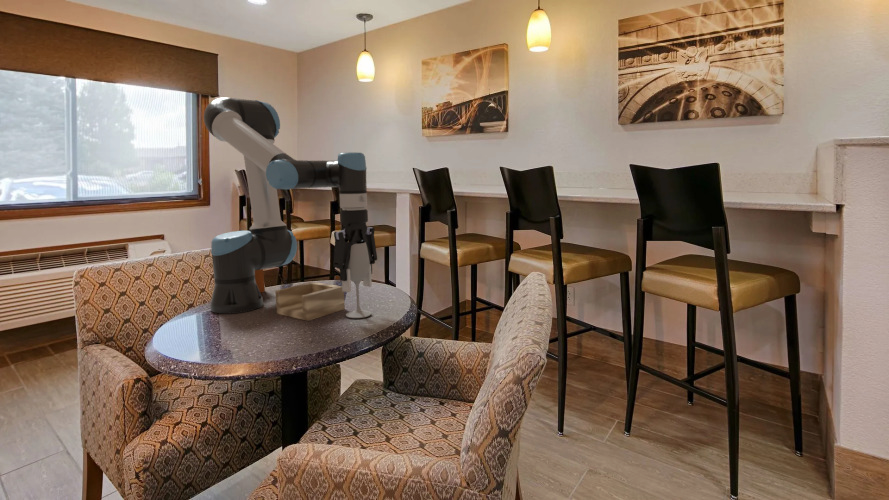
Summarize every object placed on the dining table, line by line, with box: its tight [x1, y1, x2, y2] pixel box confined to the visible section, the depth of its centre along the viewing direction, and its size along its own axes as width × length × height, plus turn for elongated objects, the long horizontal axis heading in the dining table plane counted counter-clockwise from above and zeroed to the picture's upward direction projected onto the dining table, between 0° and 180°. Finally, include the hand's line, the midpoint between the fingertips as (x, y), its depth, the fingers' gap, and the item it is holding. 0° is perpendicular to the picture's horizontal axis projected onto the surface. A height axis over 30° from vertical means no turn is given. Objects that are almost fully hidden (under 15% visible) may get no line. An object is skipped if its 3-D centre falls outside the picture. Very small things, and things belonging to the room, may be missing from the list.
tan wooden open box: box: [274, 281, 346, 322], centre depth 150 cm, size 14×14×7 cm
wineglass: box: [343, 242, 372, 319], centre depth 143 cm, size 8×8×21 cm
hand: (357, 288), depth 143 cm, fingers closed on wineglass, 8 cm apart
